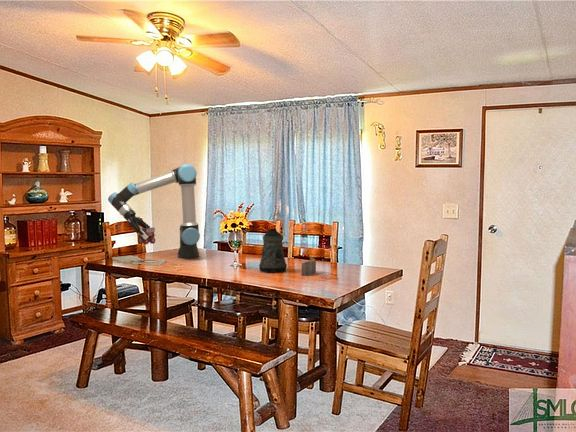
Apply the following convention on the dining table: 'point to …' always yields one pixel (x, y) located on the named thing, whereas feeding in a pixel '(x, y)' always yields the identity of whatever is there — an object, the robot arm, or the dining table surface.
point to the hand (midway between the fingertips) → (150, 237)
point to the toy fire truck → (149, 233)
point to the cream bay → (126, 258)
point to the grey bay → (150, 263)
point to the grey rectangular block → (309, 267)
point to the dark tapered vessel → (272, 253)
